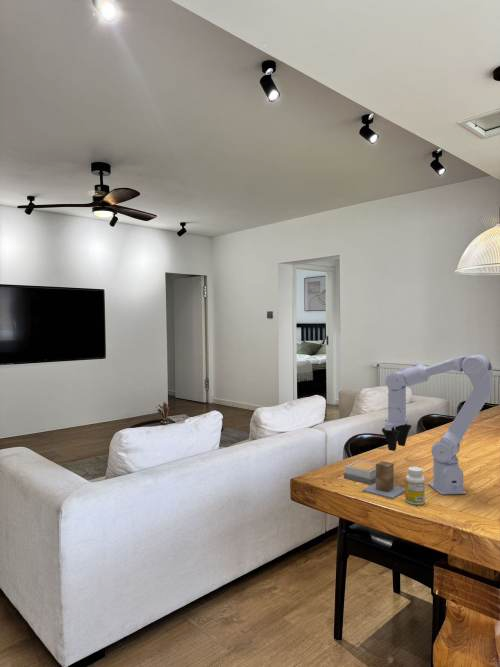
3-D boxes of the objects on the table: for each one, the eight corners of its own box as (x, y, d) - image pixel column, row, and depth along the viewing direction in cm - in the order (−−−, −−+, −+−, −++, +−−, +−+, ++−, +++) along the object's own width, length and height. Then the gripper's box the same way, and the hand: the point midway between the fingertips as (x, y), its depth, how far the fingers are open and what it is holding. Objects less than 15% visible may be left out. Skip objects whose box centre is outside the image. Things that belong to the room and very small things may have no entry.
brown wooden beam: (393, 488, 146) (393, 463, 146) (387, 492, 143) (387, 466, 143) (381, 485, 149) (381, 460, 149) (375, 489, 146) (375, 463, 146)
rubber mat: (407, 490, 146) (407, 488, 146) (393, 499, 139) (393, 497, 139) (377, 482, 153) (377, 481, 153) (362, 491, 146) (362, 489, 146)
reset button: (378, 471, 159) (378, 465, 159) (368, 476, 154) (368, 470, 154) (360, 467, 163) (360, 461, 163) (349, 471, 158) (349, 465, 158)
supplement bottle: (409, 496, 141) (409, 464, 141) (427, 501, 137) (427, 468, 137) (402, 502, 137) (402, 469, 136) (421, 506, 133) (421, 472, 133)
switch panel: (384, 476, 159) (384, 465, 159) (370, 484, 151) (370, 472, 151) (358, 470, 166) (358, 459, 166) (343, 477, 158) (343, 466, 158)
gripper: (394, 403, 165) (394, 441, 165) (376, 409, 154) (376, 450, 154) (414, 405, 160) (414, 445, 160) (396, 412, 149) (396, 454, 149)
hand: (396, 447), depth 157 cm, fingers open, 7 cm apart
